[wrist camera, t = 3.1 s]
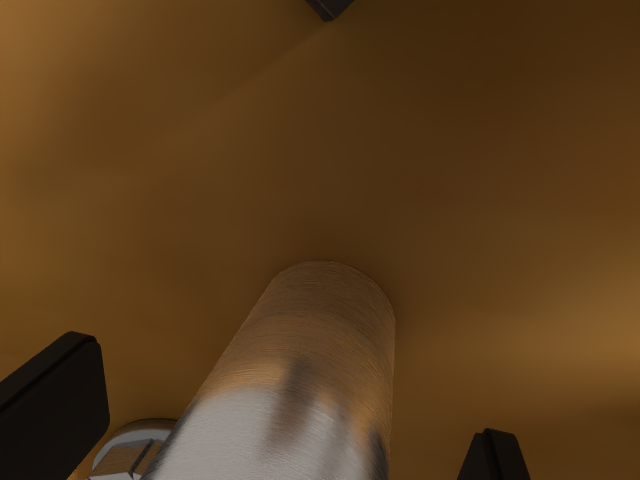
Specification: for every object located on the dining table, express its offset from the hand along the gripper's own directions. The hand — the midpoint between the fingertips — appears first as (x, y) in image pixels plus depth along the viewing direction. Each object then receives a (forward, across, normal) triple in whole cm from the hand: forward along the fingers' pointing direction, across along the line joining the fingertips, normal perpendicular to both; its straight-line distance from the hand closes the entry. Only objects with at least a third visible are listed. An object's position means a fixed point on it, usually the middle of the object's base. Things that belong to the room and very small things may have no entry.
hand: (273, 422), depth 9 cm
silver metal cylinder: (+4, -1, 0) cm, 4 cm away
